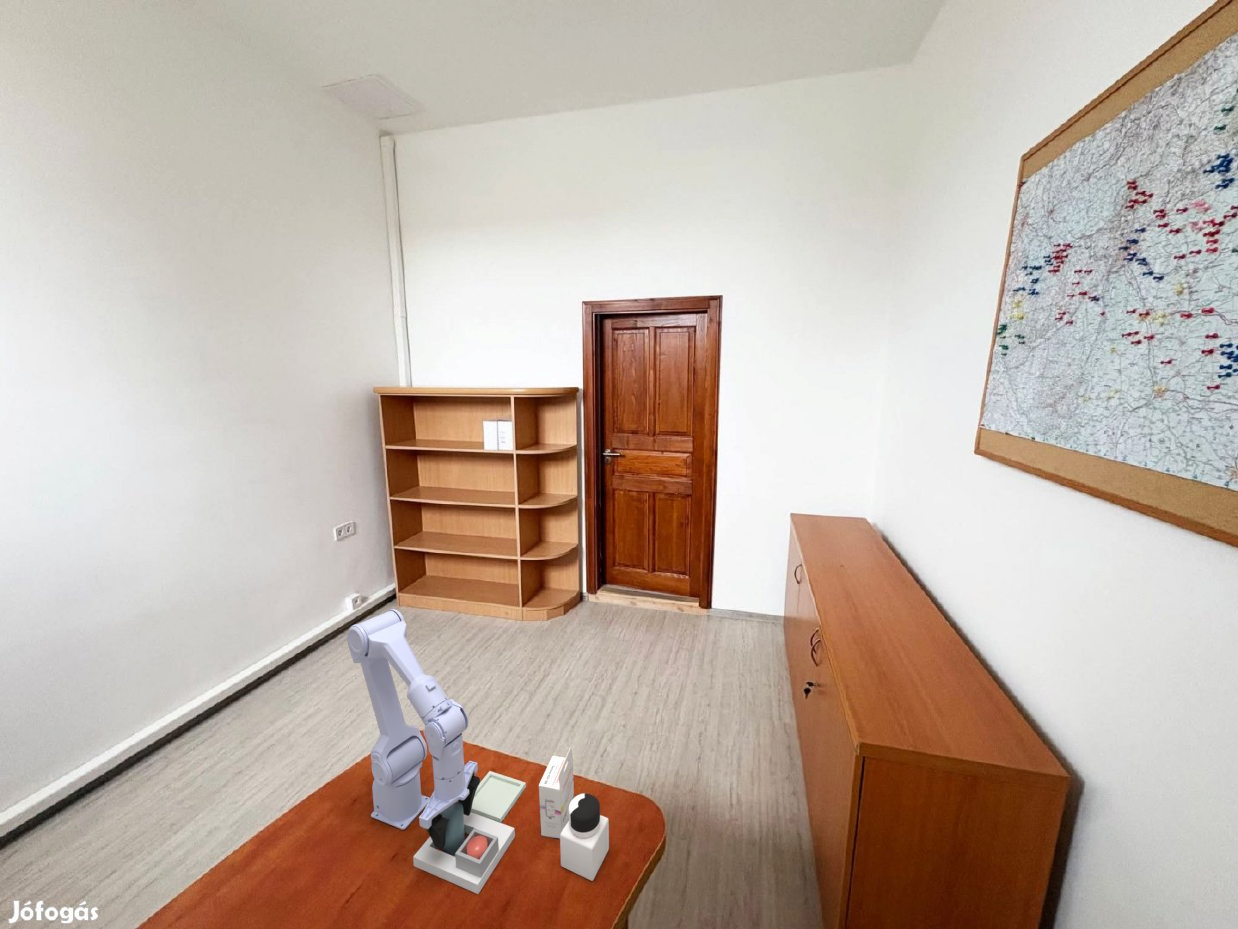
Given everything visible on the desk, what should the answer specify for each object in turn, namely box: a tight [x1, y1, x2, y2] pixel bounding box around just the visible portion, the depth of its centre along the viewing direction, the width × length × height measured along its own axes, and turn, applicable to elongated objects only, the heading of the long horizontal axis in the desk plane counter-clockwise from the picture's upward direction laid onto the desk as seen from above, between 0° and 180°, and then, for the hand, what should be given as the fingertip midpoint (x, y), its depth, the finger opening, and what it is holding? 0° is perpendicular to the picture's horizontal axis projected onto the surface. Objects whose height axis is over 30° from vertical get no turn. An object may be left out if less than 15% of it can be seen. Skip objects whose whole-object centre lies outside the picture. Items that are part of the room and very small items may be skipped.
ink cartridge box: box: [538, 746, 575, 840], centre depth 98 cm, size 9×5×15 cm, turn 168°
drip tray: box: [471, 770, 527, 824], centre depth 105 cm, size 10×10×1 cm
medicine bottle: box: [559, 792, 610, 882], centre depth 90 cm, size 7×7×12 cm
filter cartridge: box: [440, 801, 466, 857], centre depth 93 cm, size 4×4×8 cm
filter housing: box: [412, 812, 516, 895], centre depth 92 cm, size 15×12×5 cm
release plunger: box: [467, 836, 488, 859], centre depth 89 cm, size 4×4×3 cm
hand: (452, 829), depth 93 cm, fingers open, 7 cm apart
